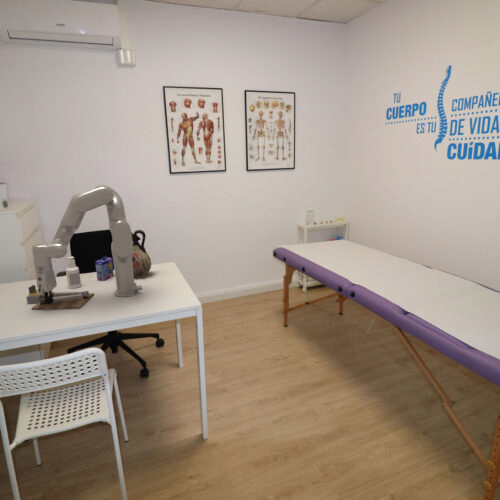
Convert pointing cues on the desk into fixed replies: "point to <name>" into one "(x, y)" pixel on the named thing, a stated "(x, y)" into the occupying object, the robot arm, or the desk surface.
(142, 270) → the ceramic jug
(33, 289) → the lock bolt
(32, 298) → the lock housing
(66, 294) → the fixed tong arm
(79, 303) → the tong board
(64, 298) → the tong arm
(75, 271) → the spray bottle
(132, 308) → the desk surface
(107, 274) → the ink cartridge box
